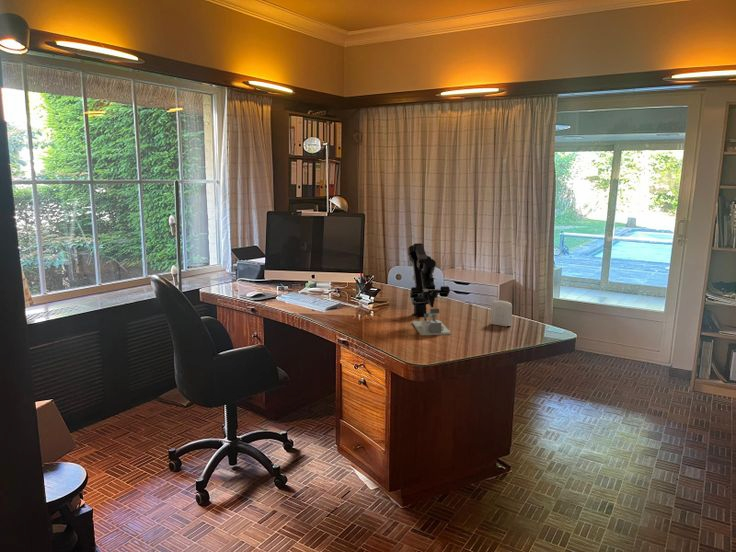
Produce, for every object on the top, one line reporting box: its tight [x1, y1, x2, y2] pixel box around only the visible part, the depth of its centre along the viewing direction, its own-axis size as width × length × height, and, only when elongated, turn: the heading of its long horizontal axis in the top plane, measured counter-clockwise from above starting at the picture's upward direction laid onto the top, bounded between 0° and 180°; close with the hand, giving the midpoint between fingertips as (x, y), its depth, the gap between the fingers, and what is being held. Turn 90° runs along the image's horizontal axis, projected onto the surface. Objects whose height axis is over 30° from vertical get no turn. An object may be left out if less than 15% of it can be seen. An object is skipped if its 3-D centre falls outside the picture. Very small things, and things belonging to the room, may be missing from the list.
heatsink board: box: [412, 313, 452, 336], centre depth 259 cm, size 22×14×6 cm, turn 6°
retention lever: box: [426, 308, 440, 318], centre depth 255 cm, size 2×4×14 cm
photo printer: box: [490, 300, 513, 327], centre depth 263 cm, size 10×4×12 cm, turn 56°
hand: (432, 306), depth 255 cm, fingers closed
